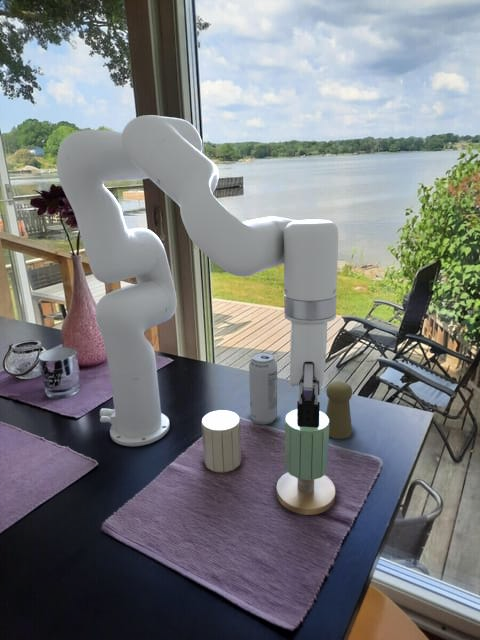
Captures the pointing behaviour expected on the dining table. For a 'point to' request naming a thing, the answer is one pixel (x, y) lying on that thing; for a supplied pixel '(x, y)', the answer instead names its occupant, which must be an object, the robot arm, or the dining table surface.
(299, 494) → the disc
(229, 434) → the cup
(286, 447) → the green grooved cylinder
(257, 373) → the energy drink can
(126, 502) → the dining table surface
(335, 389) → the olive pawn figure
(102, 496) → the dining table surface
